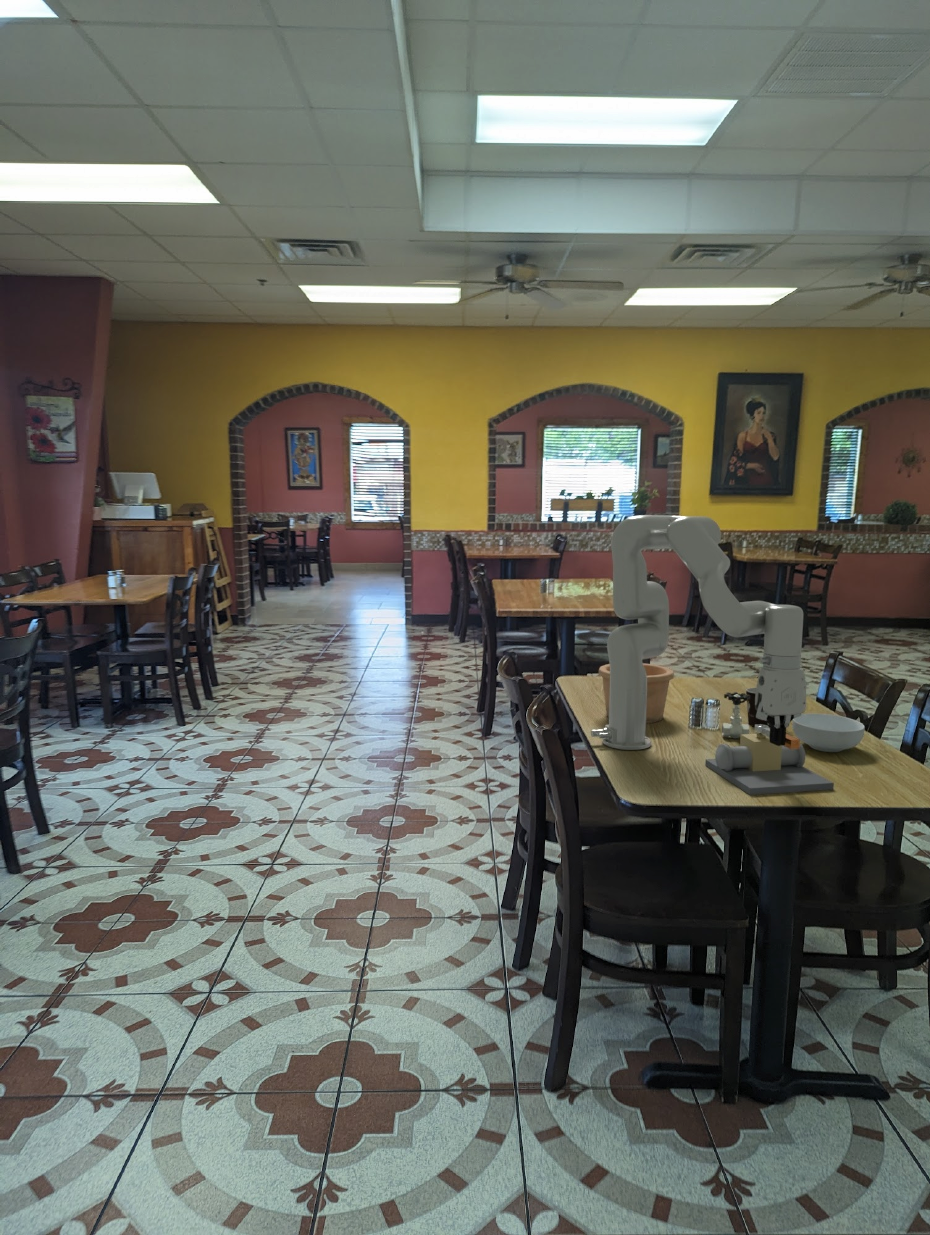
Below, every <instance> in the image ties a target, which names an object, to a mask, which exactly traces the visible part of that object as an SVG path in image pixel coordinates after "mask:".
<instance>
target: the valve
mask: <svg viewBox="0 0 930 1235" xmlns="http://www.w3.org/2000/svg"><path fill="white" fill-rule="evenodd" d="M723 699H727V700H729V701H731V702H732V704H733V705H734V707H732V713H733V714H732V716H730V717H729V721H730V723H729V722H728V723H726V722H723V723H722V724H721V736H722V737H724V738H729V737H730V738H731V739H740V737H741V734H750V725H749V724H748V723H747V724H745V723H742V721H743V718H742V717H741V715H740V714H741V708H740V707H739V706H740V705H741V704H744V703H745V702H747V701H748V699H750V695H746V692H745V693H744V692H743V693H738V692H737V691H734V692H733V693H731V692H726V693H724V694H723Z"/></svg>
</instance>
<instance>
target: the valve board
mask: <svg viewBox="0 0 930 1235" xmlns="http://www.w3.org/2000/svg"><path fill="white" fill-rule="evenodd" d="M739 739H740V741H739V743H740V744H739V745H737V746H730V745H728V744H727V743H721V744H720V743H719V744H718V746H717V747H716V750H715V753H714V754H715V756H714V758H708V759H707V758H706V759H705V762H704V765H705V766H706V767H707V768H709V769H710V770H712V771H713V772H714V773H717V775H719V776H721V777H723V778H724V779H725V780H727V781H728V782H729V783H731V784H733V785H734V786H736V787H737V788H739V789H740V790H742V791H743V792H745V793H746V794H748V795H749V796H753V795H754V796H755V795H768V794H772V795H773V794H781V793H782V794H783V793H785V794H786V793H797V792H799V793H800V792H813V791H830V790H834V787H835V782H833V781H831V780H830V779H828V778H826V777H823V776H822V775H820V774H818V773H817V772H814V771H812V770H810V769H809V768H807V767H805V766H804V764H805V762H806V750H805V748H804V746H803V744H802V743H801V742H800V748H799V749H789V748H787V747H785V746H782V745H781V746H777V745H775V744H772V743H770V738H768V737H766V736H764V735H761V734H756V733H749V734H741V737H740V738H739Z"/></svg>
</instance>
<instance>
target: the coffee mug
mask: <svg viewBox="0 0 930 1235" xmlns="http://www.w3.org/2000/svg"><path fill="white" fill-rule="evenodd" d="M745 694H746V695H750V699H748V701H746V707H747V708H746V709H747V711H746V712H747V721H748V722H747V724H748V725H749V727H750V726H751V727H753V728H755V725H757V724H762V725H767V726H769V728H770V725H768V723H767V722H766V721H765V720H761V719H758V718H756V714H757V710H756V708H755V696H756V687H748V688H746V689H745ZM765 714H766V713H765Z"/></svg>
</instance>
